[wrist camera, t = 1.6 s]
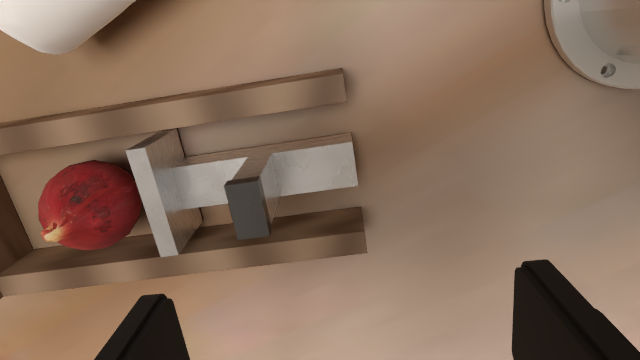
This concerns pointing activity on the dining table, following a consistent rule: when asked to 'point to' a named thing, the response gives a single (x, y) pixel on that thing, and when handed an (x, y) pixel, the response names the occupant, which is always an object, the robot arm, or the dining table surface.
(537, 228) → the dining table surface
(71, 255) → the guide
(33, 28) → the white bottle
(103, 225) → the pomegranate
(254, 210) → the grey angular piece
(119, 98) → the dining table surface
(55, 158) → the dining table surface
